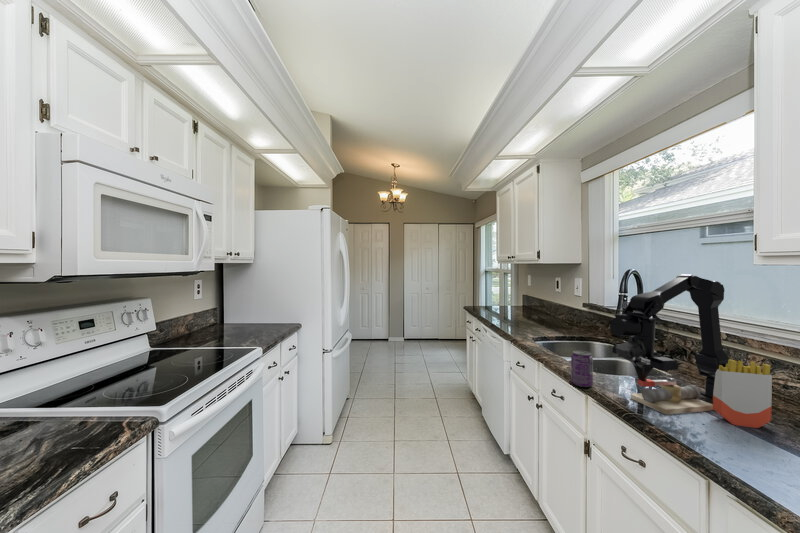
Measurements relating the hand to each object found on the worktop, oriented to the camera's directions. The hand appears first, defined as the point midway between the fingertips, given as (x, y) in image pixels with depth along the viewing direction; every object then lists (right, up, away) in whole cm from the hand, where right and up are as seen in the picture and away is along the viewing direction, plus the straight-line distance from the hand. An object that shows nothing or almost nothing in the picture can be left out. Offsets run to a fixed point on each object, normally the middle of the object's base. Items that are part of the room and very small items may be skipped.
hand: (641, 382), depth 107 cm
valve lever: (+4, 0, -1) cm, 4 cm away
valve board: (+9, -7, -1) cm, 11 cm away
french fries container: (+18, -7, -13) cm, 24 cm away
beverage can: (-11, -7, +15) cm, 20 cm away
